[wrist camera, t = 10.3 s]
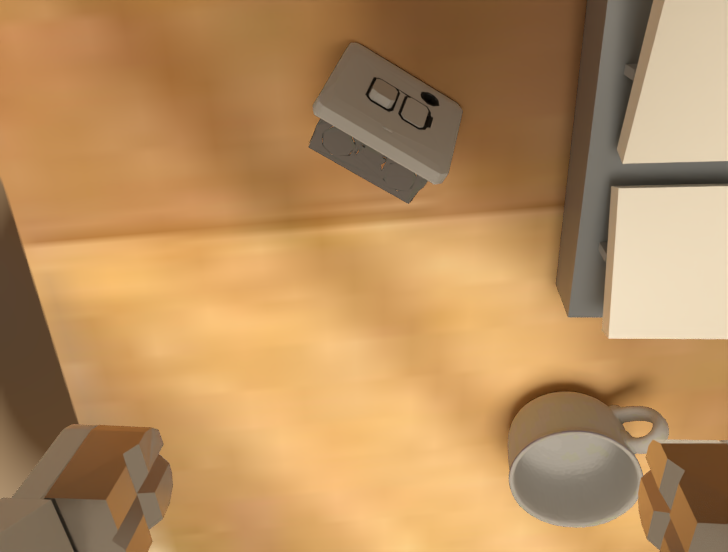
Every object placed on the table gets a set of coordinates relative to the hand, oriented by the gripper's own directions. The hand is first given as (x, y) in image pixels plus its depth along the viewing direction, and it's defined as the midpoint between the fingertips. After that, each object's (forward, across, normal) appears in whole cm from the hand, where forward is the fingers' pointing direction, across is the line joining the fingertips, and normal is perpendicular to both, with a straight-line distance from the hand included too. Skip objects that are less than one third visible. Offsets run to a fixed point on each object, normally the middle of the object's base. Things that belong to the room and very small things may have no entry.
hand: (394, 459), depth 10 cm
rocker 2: (+30, -18, +12) cm, 37 cm away
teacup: (+37, -14, +32) cm, 51 cm away
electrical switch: (+37, +2, +3) cm, 37 cm away
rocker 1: (+30, -18, 0) cm, 35 cm away
